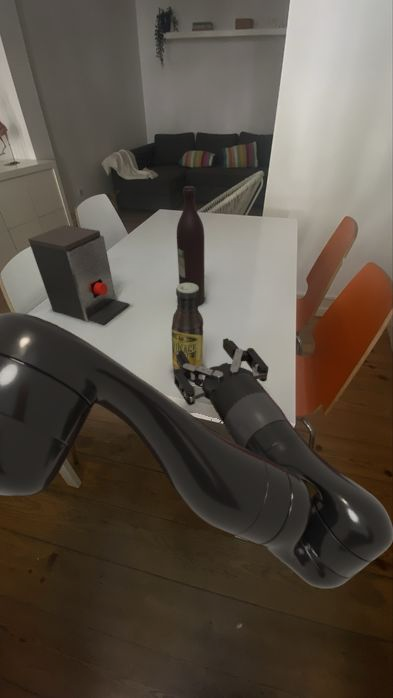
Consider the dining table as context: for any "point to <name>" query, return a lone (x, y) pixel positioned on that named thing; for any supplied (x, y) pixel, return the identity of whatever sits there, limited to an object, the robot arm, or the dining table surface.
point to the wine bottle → (191, 244)
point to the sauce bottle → (187, 325)
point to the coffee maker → (76, 273)
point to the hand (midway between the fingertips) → (202, 348)
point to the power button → (100, 289)
